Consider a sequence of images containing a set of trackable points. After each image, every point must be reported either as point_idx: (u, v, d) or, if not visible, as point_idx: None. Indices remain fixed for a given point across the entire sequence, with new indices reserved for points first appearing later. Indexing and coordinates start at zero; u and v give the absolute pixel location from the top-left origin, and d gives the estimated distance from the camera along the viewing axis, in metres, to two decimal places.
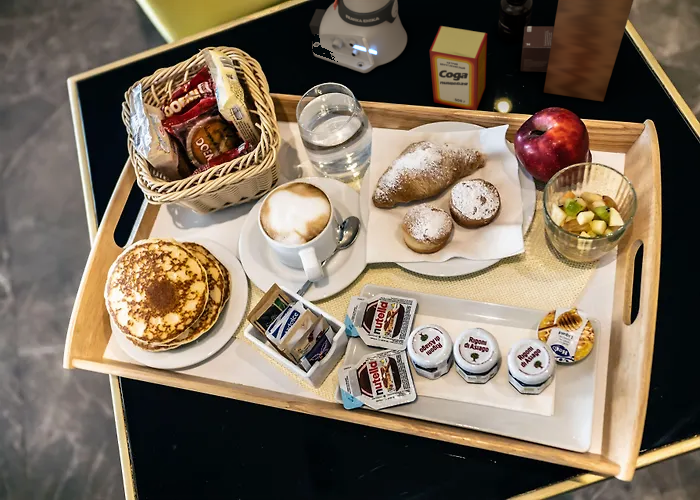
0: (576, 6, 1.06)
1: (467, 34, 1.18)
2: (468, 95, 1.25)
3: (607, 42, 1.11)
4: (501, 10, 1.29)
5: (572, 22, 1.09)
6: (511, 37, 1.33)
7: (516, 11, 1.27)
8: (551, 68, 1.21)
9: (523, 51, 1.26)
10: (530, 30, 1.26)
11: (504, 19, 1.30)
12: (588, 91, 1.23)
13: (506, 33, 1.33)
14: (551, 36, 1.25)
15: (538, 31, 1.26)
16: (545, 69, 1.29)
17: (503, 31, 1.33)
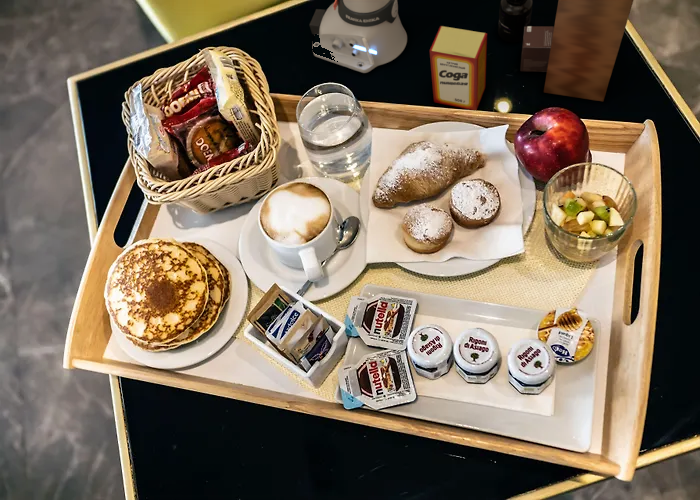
0: (576, 6, 1.06)
1: (467, 34, 1.18)
2: (468, 95, 1.25)
3: (607, 42, 1.11)
4: (501, 10, 1.29)
5: (572, 22, 1.09)
6: (511, 37, 1.33)
7: (516, 11, 1.27)
8: (551, 68, 1.21)
9: (523, 51, 1.26)
10: (530, 30, 1.26)
11: (504, 19, 1.30)
12: (588, 91, 1.23)
13: (506, 33, 1.33)
14: (551, 36, 1.25)
15: (538, 31, 1.26)
16: (545, 69, 1.29)
17: (503, 31, 1.33)
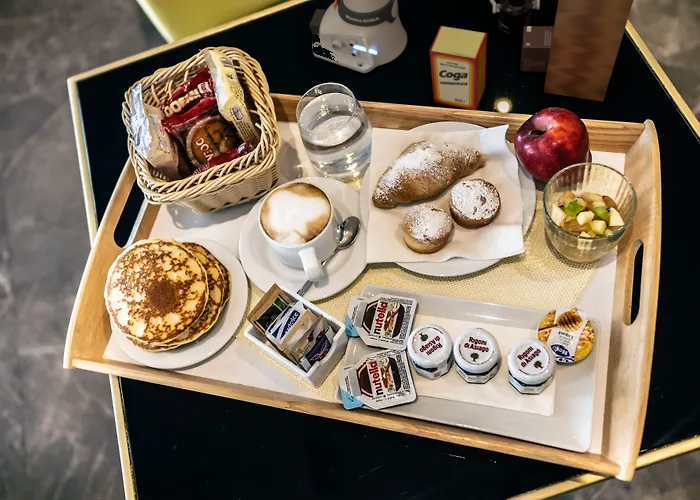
0: (576, 6, 1.06)
1: (467, 34, 1.18)
2: (468, 95, 1.25)
3: (607, 42, 1.11)
4: (501, 10, 1.29)
5: (572, 22, 1.09)
6: (511, 37, 1.33)
7: (516, 11, 1.27)
8: (551, 68, 1.21)
9: (523, 51, 1.26)
10: (530, 30, 1.26)
11: (504, 19, 1.30)
12: (588, 91, 1.23)
13: (506, 33, 1.33)
14: (551, 36, 1.25)
15: (538, 31, 1.26)
16: (545, 69, 1.29)
17: (503, 31, 1.33)
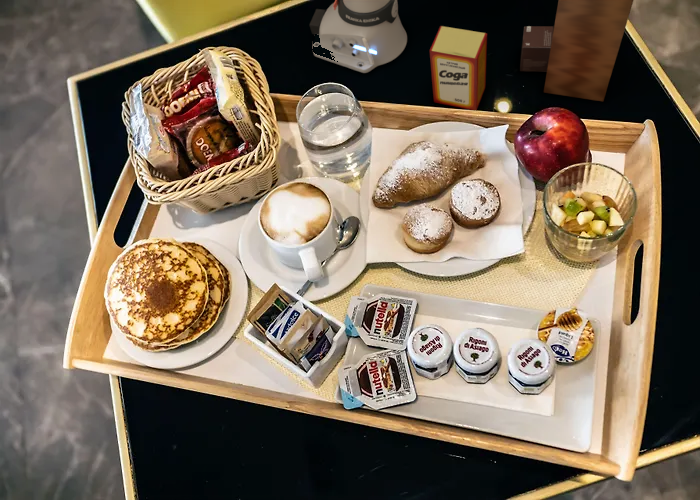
0: (576, 6, 1.06)
1: (467, 34, 1.18)
2: (468, 95, 1.25)
3: (607, 42, 1.11)
4: None
5: (572, 22, 1.09)
6: None
7: None
8: (551, 68, 1.21)
9: (522, 51, 1.26)
10: (529, 30, 1.26)
11: None
12: (588, 91, 1.23)
13: None
14: (550, 36, 1.25)
15: (537, 30, 1.26)
16: (544, 69, 1.29)
17: None
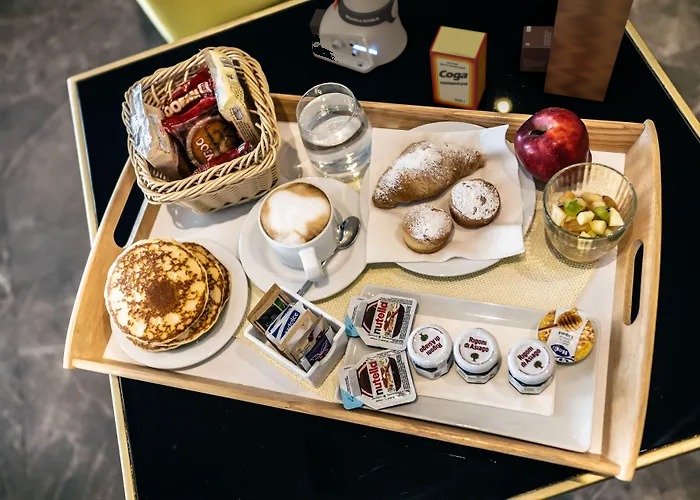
0: (576, 6, 1.06)
1: (467, 34, 1.18)
2: (468, 95, 1.25)
3: (607, 42, 1.11)
4: None
5: (572, 22, 1.09)
6: None
7: None
8: (551, 68, 1.21)
9: (522, 51, 1.26)
10: (529, 30, 1.26)
11: None
12: (588, 91, 1.23)
13: None
14: (550, 36, 1.25)
15: (537, 31, 1.26)
16: (544, 69, 1.29)
17: None
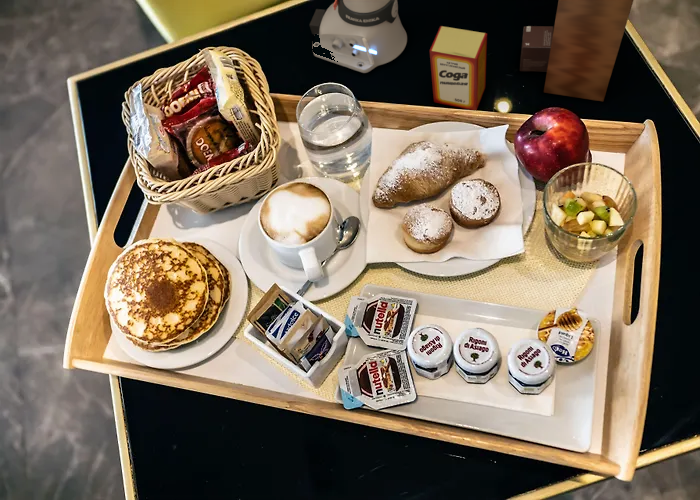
0: (576, 6, 1.06)
1: (467, 34, 1.18)
2: (468, 95, 1.25)
3: (607, 42, 1.11)
4: None
5: (572, 22, 1.09)
6: None
7: None
8: (551, 68, 1.21)
9: (522, 51, 1.26)
10: (529, 30, 1.26)
11: None
12: (588, 91, 1.23)
13: None
14: (550, 36, 1.25)
15: (537, 30, 1.26)
16: (544, 69, 1.29)
17: None
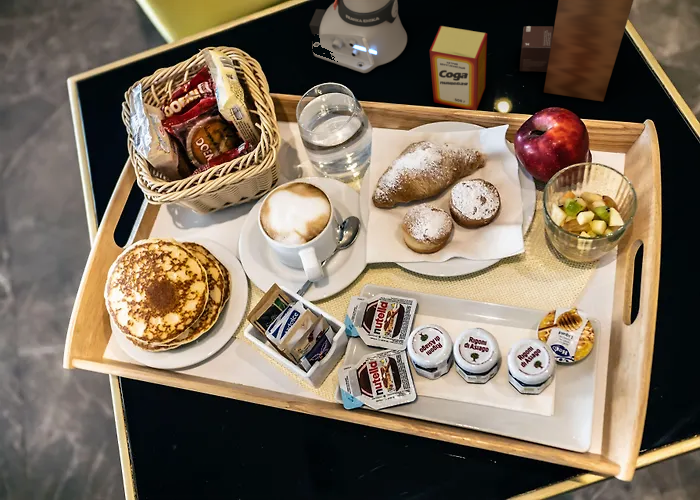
0: (576, 6, 1.06)
1: (467, 34, 1.18)
2: (468, 95, 1.25)
3: (607, 42, 1.11)
4: None
5: (572, 22, 1.09)
6: None
7: None
8: (551, 68, 1.21)
9: (522, 51, 1.26)
10: (529, 30, 1.26)
11: None
12: (588, 91, 1.23)
13: None
14: (550, 36, 1.25)
15: (537, 31, 1.26)
16: (544, 69, 1.29)
17: None
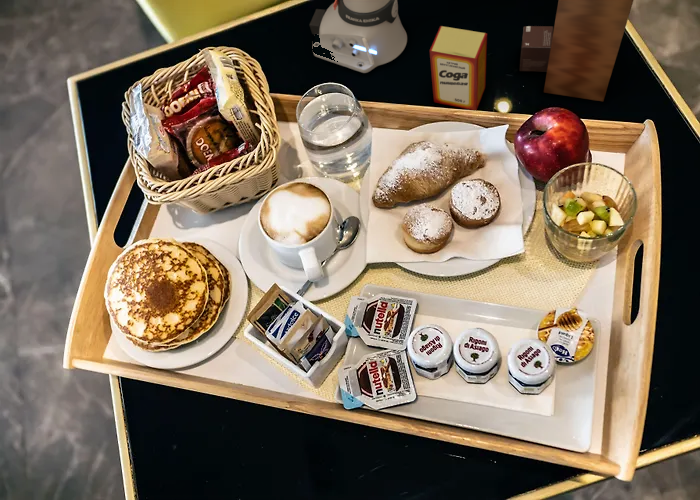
0: (576, 6, 1.06)
1: (467, 34, 1.18)
2: (468, 95, 1.25)
3: (607, 42, 1.11)
4: None
5: (572, 22, 1.09)
6: None
7: None
8: (551, 68, 1.21)
9: (522, 51, 1.26)
10: (529, 30, 1.26)
11: None
12: (588, 91, 1.23)
13: None
14: (550, 36, 1.25)
15: (537, 30, 1.26)
16: (544, 69, 1.29)
17: None
